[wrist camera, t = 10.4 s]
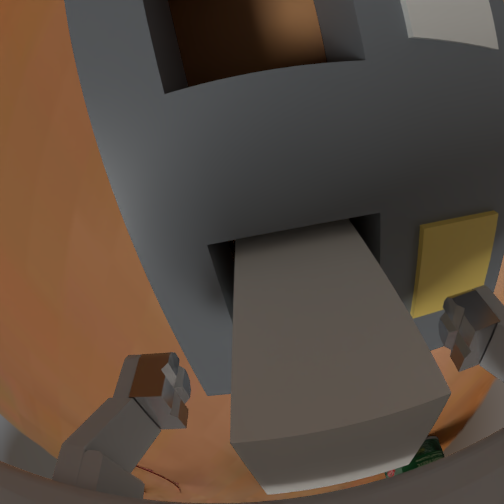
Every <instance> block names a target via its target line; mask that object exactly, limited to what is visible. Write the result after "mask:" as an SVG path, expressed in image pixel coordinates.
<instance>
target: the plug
mask: <svg viewBox="0 0 504 504" xmlns="http://www.w3.org/2000/svg"><path fill="white" fill-rule="evenodd" d="M450 395H451V391H450V389H449V387H448V385H447V383H446V381H445V379H444V377H443V375H442V373H441V371H440V369H439V367H438V365H437V363H436V361H435V359H434V357H433V355H432V354H431V352H430V350H429V348H428V346H427V344H426V342H425V341H424V339H423V337H422V335H421V333H420V332H419V330H418V328H417V326H416V324H415V323H414V321H413V319H412V317H411V316H410V314H409V312H408V311H407V309H406V307H405V305H404V304H403V302H402V300H401V299H400V297H399V295H398V294H397V292H396V290H395V289H394V287H393V286H392V284H391V282H390V281H389V279H388V278H387V276H386V274H385V273H384V271H383V270H382V268H381V267H380V265H379V263H378V262H377V260H376V259H375V257H374V256H373V254H372V253H371V251H370V250H369V248H368V247H367V245H366V244H365V242H364V241H363V239H362V238H361V236H360V235H359V233H358V232H357V230H356V229H355V227H354V226H353V225H352V223H351V222H350V220H349V219H348V218H347V219H342V220H336V221H331V222H325V223H320V224H314V225H309V226H304V227H298V228H293V229H288V230H282V231H277V232H272V233H267V234H261V235H256V236H251V237H246V238H241V239H236V241H235V268H234V298H233V332H232V373H231V429H230V443H231V445H232V446H233V448H234V449H235V451H236V452H237V454H238V455H239V457H240V458H241V459H242V461H243V462H244V464H245V465H246V466H247V468H248V469H249V471H250V472H251V473H252V475H253V476H254V477H255V479H256V480H257V481H258V483H259V484H260V485H261V487H262V488H263V489H264V491H265V492H266V493H267V495H268V494H278V493H287V492H295V491H302V490H308V489H314V488H320V487H325V486H331V485H335V484H340V483H345V482H349V481H353V480H358V479H362V478H365V477H369V476H373V475H377V474H380V473H383V472H387V471H390V470H393V469H396V468H400V467H403V466H406V465H409V463H410V462H411V460H412V459H413V457H414V456H415V455H416V453H417V451H418V450H419V448H420V447H421V445H422V444H423V442H424V441H425V439H426V437H427V436H428V434H429V432H430V431H431V429H432V427H433V426H434V424H435V422H436V421H437V419H438V417H439V415H440V413H441V412H442V410H443V408H444V406H445V404H446V402H447V400H448V398H449V397H450Z"/></svg>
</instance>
